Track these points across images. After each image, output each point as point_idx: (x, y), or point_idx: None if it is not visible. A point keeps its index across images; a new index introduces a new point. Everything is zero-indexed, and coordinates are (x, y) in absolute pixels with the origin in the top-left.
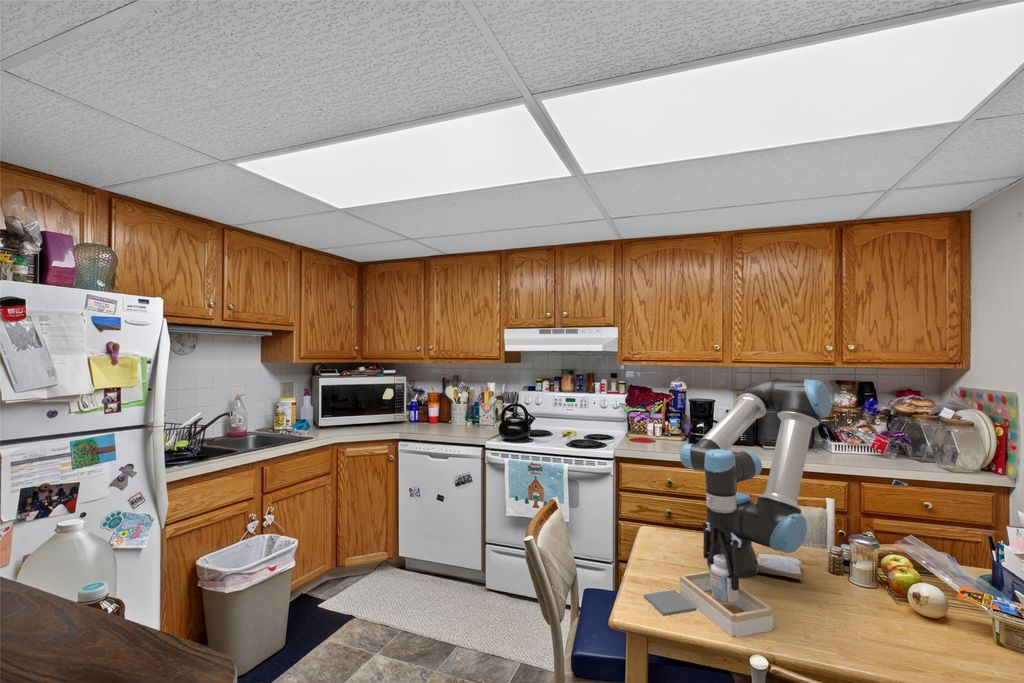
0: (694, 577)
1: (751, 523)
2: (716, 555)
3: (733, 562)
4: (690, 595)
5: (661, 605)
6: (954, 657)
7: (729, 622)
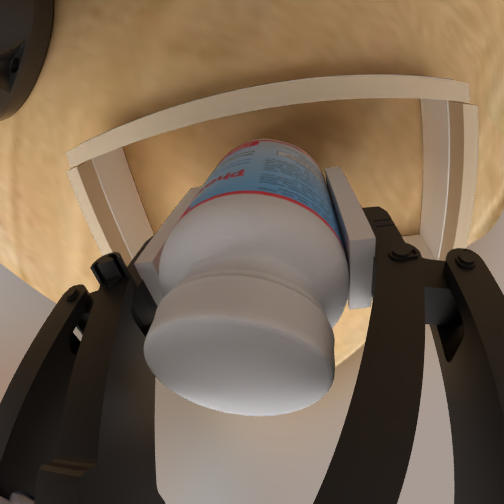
0: (122, 256)
1: None
2: (180, 389)
3: (457, 419)
4: None
5: None
6: None
7: None
